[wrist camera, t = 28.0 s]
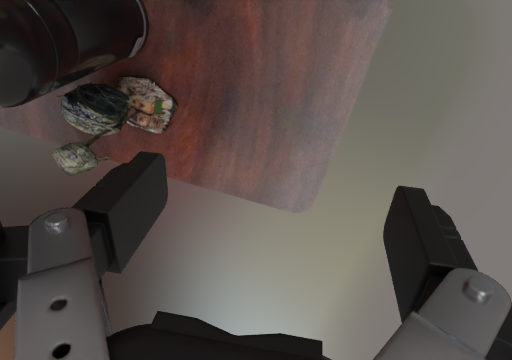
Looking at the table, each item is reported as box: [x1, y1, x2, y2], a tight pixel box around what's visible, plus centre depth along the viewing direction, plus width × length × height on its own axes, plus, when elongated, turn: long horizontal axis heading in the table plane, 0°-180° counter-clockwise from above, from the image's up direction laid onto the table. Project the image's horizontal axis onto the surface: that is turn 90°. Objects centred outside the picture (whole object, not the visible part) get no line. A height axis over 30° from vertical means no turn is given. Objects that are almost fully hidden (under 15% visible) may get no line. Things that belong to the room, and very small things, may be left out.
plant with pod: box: [52, 76, 177, 175], centre depth 39 cm, size 8×11×20 cm
